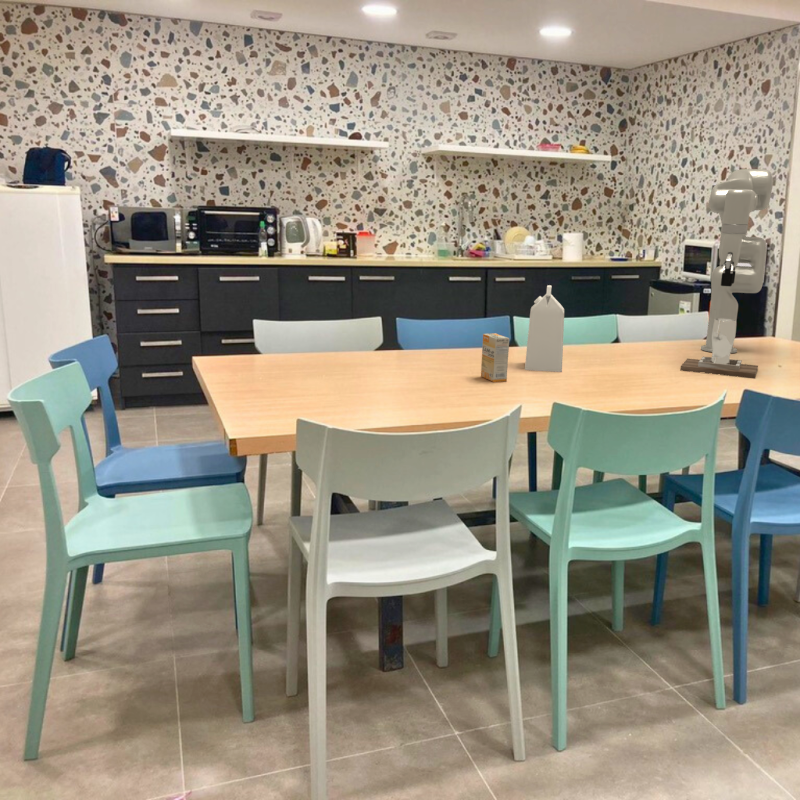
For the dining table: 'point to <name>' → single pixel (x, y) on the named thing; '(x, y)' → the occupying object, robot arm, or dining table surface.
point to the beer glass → (722, 340)
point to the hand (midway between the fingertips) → (727, 284)
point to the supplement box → (495, 357)
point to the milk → (545, 334)
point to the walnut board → (720, 367)
